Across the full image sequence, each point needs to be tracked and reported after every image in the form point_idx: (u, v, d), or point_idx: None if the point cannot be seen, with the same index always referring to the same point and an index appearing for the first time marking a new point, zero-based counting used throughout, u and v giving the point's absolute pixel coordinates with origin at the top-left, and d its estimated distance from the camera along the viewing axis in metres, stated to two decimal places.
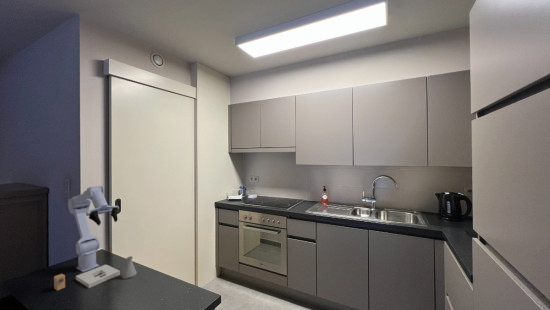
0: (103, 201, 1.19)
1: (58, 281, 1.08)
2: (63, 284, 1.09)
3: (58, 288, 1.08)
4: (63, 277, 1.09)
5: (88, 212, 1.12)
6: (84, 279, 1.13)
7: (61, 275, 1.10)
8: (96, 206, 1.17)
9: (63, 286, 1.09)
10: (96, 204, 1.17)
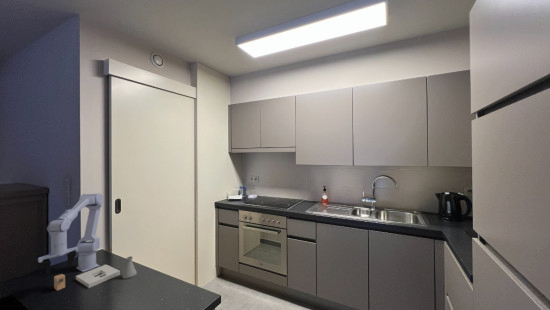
0: (62, 246, 1.09)
1: (58, 281, 1.08)
2: (63, 284, 1.09)
3: (58, 288, 1.08)
4: (63, 277, 1.09)
5: (40, 260, 1.03)
6: (84, 279, 1.13)
7: (61, 275, 1.10)
8: (52, 251, 1.07)
9: (63, 286, 1.09)
10: (53, 249, 1.07)
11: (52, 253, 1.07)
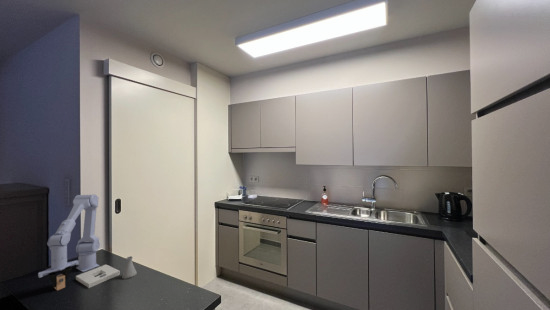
0: (62, 260, 1.09)
1: (58, 281, 1.08)
2: (63, 284, 1.09)
3: (58, 288, 1.08)
4: (63, 277, 1.09)
5: (40, 275, 1.03)
6: (84, 279, 1.13)
7: (61, 275, 1.10)
8: (53, 265, 1.07)
9: (63, 286, 1.09)
10: (53, 263, 1.07)
11: (52, 268, 1.07)
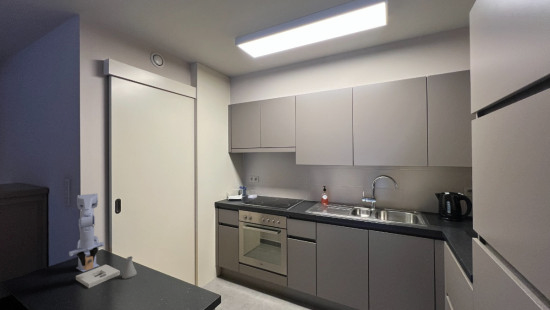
0: (90, 241, 1.15)
1: (87, 261, 1.14)
2: (91, 265, 1.15)
3: (87, 268, 1.14)
4: (91, 258, 1.15)
5: (71, 254, 1.10)
6: (84, 279, 1.13)
7: (89, 256, 1.16)
8: (82, 245, 1.13)
9: (91, 266, 1.15)
10: (82, 243, 1.13)
11: (81, 247, 1.13)
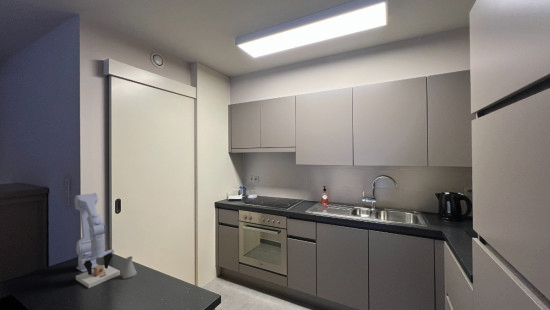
0: (101, 249, 1.18)
1: (98, 271, 1.16)
2: None
3: None
4: (102, 267, 1.18)
5: (83, 262, 1.12)
6: (84, 279, 1.13)
7: (100, 266, 1.19)
8: (93, 253, 1.16)
9: None
10: (93, 251, 1.16)
11: (92, 255, 1.16)
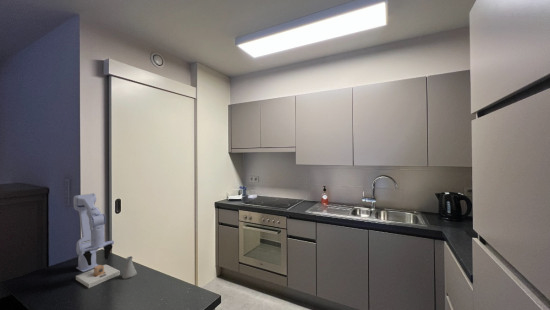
0: (101, 239, 1.18)
1: (98, 271, 1.16)
2: None
3: None
4: (102, 267, 1.18)
5: (83, 252, 1.12)
6: (84, 279, 1.13)
7: (100, 266, 1.19)
8: (92, 244, 1.16)
9: None
10: (93, 242, 1.16)
11: (92, 246, 1.16)
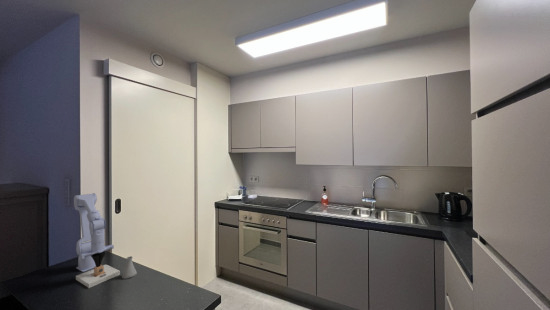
0: (101, 244, 1.18)
1: (98, 271, 1.16)
2: None
3: None
4: (102, 267, 1.18)
5: (83, 257, 1.12)
6: (84, 279, 1.13)
7: (100, 266, 1.19)
8: (93, 248, 1.16)
9: None
10: (93, 246, 1.16)
11: (92, 250, 1.16)
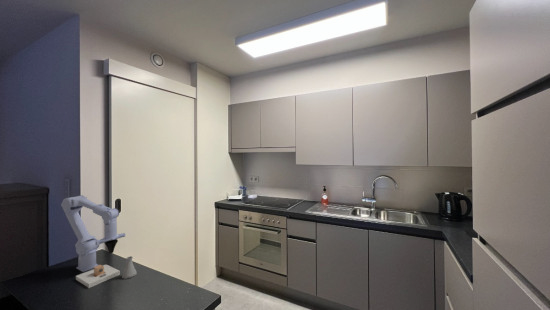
0: (114, 232, 1.27)
1: (98, 271, 1.16)
2: None
3: None
4: (102, 267, 1.18)
5: (98, 243, 1.21)
6: (84, 279, 1.13)
7: (100, 266, 1.19)
8: (106, 236, 1.25)
9: None
10: (107, 234, 1.25)
11: (106, 237, 1.25)
